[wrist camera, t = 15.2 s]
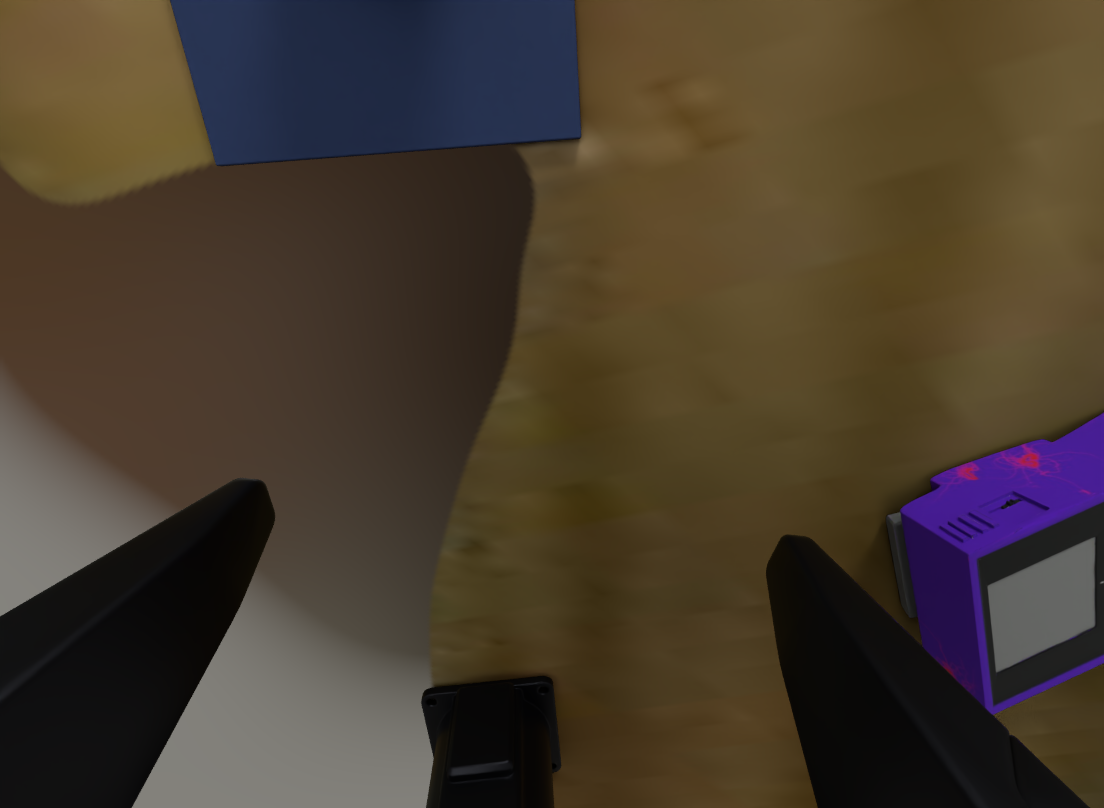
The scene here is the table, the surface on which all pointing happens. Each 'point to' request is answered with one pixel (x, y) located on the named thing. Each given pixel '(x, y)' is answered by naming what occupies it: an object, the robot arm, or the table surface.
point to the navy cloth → (379, 75)
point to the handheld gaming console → (1009, 566)
